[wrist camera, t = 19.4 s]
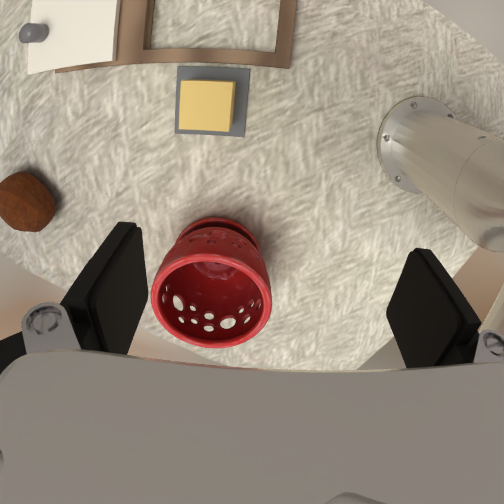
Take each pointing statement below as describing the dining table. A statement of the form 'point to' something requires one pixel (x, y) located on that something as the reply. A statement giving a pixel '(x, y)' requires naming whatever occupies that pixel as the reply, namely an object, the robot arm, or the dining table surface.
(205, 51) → the brown box
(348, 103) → the dining table surface
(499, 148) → the robot arm
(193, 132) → the mat
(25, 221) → the potato
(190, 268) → the plant pot
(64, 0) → the lid
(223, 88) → the block
